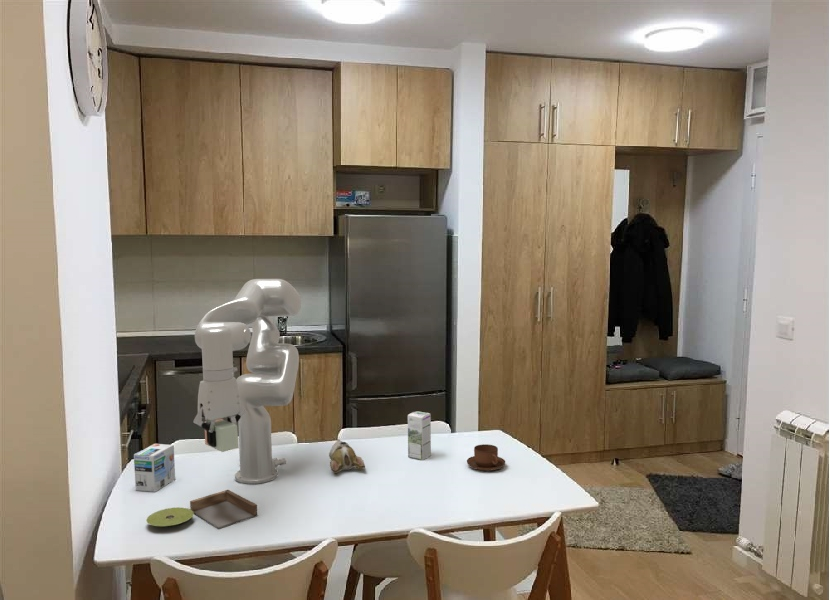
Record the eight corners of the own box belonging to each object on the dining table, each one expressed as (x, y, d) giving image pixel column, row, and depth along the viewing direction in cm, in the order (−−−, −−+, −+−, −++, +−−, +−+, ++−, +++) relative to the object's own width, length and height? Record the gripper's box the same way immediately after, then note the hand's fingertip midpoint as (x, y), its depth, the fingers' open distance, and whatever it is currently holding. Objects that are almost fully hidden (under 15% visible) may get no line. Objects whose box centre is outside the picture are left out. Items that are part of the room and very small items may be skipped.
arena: (228, 500, 181) (227, 489, 181) (257, 515, 170) (257, 504, 170) (190, 512, 173) (190, 501, 173) (218, 529, 163) (218, 517, 162)
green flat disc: (198, 513, 173) (197, 505, 172) (188, 531, 161) (188, 524, 161) (153, 515, 171) (153, 508, 171) (141, 534, 160) (140, 527, 160)
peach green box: (238, 447, 169) (237, 425, 169) (222, 452, 166) (221, 429, 166) (221, 440, 176) (219, 418, 175) (205, 444, 173) (204, 421, 172)
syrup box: (431, 455, 216) (431, 412, 215) (422, 460, 211) (421, 416, 210) (417, 452, 219) (416, 410, 218) (407, 457, 214) (406, 414, 213)
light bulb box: (155, 492, 187) (153, 455, 186) (134, 491, 188) (132, 454, 187) (176, 479, 198) (174, 444, 197) (156, 477, 199) (154, 443, 198)
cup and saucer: (512, 466, 206) (513, 447, 205) (489, 476, 197) (489, 456, 197) (482, 458, 214) (482, 439, 213) (459, 467, 205) (458, 448, 205)
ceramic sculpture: (354, 432, 213) (367, 448, 199) (354, 458, 215) (367, 475, 201) (321, 436, 210) (332, 453, 196) (322, 462, 211) (333, 481, 197)
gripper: (240, 367, 177) (243, 432, 179) (180, 378, 166) (184, 448, 168) (255, 371, 172) (257, 438, 174) (194, 382, 160) (197, 455, 162)
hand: (221, 442), depth 171 cm, fingers closed on peach green box, 4 cm apart
